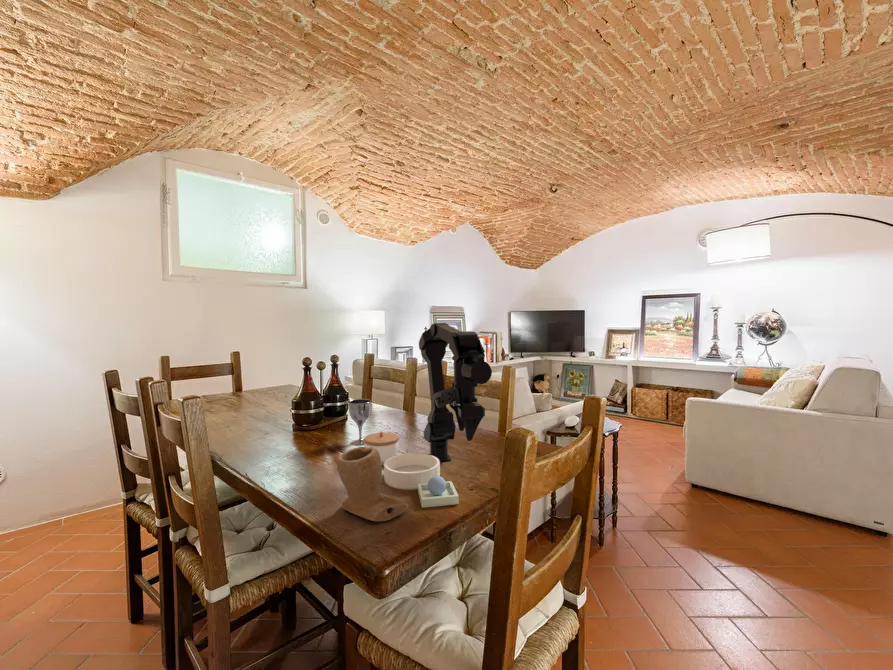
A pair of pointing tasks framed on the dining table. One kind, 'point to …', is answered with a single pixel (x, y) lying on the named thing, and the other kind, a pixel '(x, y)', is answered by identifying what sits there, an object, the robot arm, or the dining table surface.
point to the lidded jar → (383, 444)
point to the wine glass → (359, 415)
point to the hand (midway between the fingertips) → (465, 435)
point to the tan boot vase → (366, 485)
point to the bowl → (410, 470)
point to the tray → (437, 496)
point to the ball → (436, 485)
